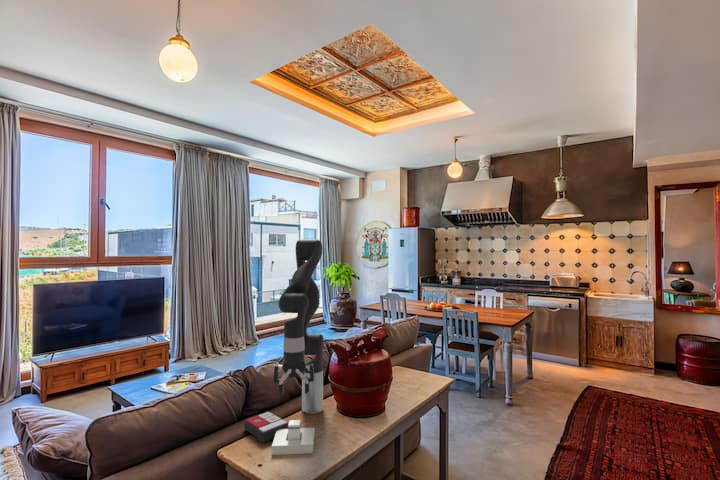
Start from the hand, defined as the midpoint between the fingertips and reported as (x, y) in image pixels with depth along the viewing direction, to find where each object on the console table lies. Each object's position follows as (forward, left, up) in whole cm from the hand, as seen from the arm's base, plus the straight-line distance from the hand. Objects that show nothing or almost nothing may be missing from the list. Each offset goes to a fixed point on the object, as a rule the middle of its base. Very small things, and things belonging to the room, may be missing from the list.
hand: (294, 393), depth 131 cm
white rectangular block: (0, 0, -18) cm, 18 cm away
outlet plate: (0, 0, -18) cm, 18 cm away
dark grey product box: (-11, -12, -18) cm, 24 cm away
